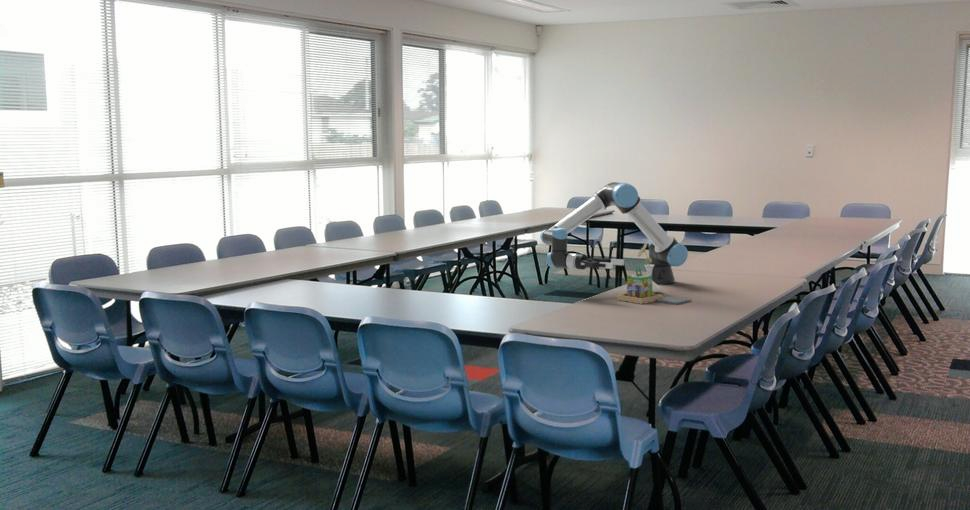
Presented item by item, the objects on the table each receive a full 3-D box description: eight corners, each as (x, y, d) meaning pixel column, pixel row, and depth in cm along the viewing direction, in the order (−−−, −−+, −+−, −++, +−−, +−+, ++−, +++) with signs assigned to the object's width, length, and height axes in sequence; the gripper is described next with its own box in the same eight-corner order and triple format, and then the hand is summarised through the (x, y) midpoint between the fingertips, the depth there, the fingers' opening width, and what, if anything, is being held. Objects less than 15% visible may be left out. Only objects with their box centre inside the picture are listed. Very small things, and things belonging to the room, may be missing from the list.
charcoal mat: (655, 301, 428) (655, 299, 428) (671, 298, 435) (671, 296, 435) (675, 304, 419) (675, 302, 419) (691, 301, 426) (691, 299, 426)
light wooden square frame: (617, 300, 434) (617, 294, 433) (638, 296, 443) (638, 291, 443) (641, 304, 422) (641, 298, 422) (662, 300, 432) (662, 294, 431)
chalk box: (643, 302, 426) (643, 271, 424) (626, 300, 432) (626, 269, 430) (653, 299, 433) (653, 268, 431) (636, 297, 439) (636, 267, 437)
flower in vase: (646, 290, 460) (646, 240, 457) (665, 292, 452) (666, 242, 449) (630, 293, 451) (630, 243, 448) (650, 296, 443) (650, 244, 439)
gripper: (588, 266, 457) (628, 268, 446) (566, 272, 436) (607, 275, 425) (588, 251, 456) (628, 253, 445) (566, 256, 435) (607, 259, 424)
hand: (618, 264), depth 435 cm, fingers open, 13 cm apart
